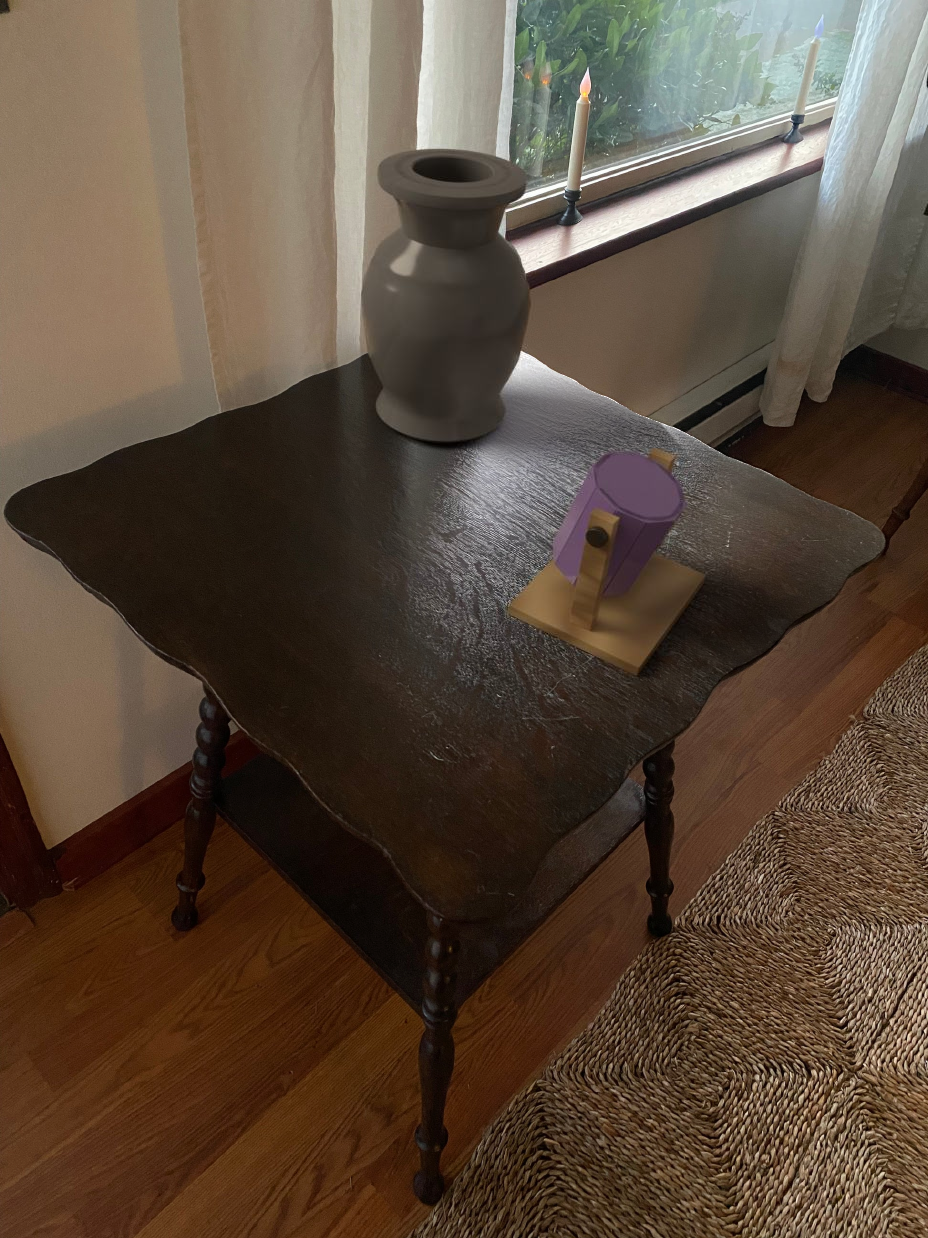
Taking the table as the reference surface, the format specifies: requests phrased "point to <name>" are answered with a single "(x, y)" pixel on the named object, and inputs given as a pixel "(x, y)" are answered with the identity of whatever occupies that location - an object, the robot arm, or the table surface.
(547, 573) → the swivel stand
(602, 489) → the cup
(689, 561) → the table surface
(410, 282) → the vase
